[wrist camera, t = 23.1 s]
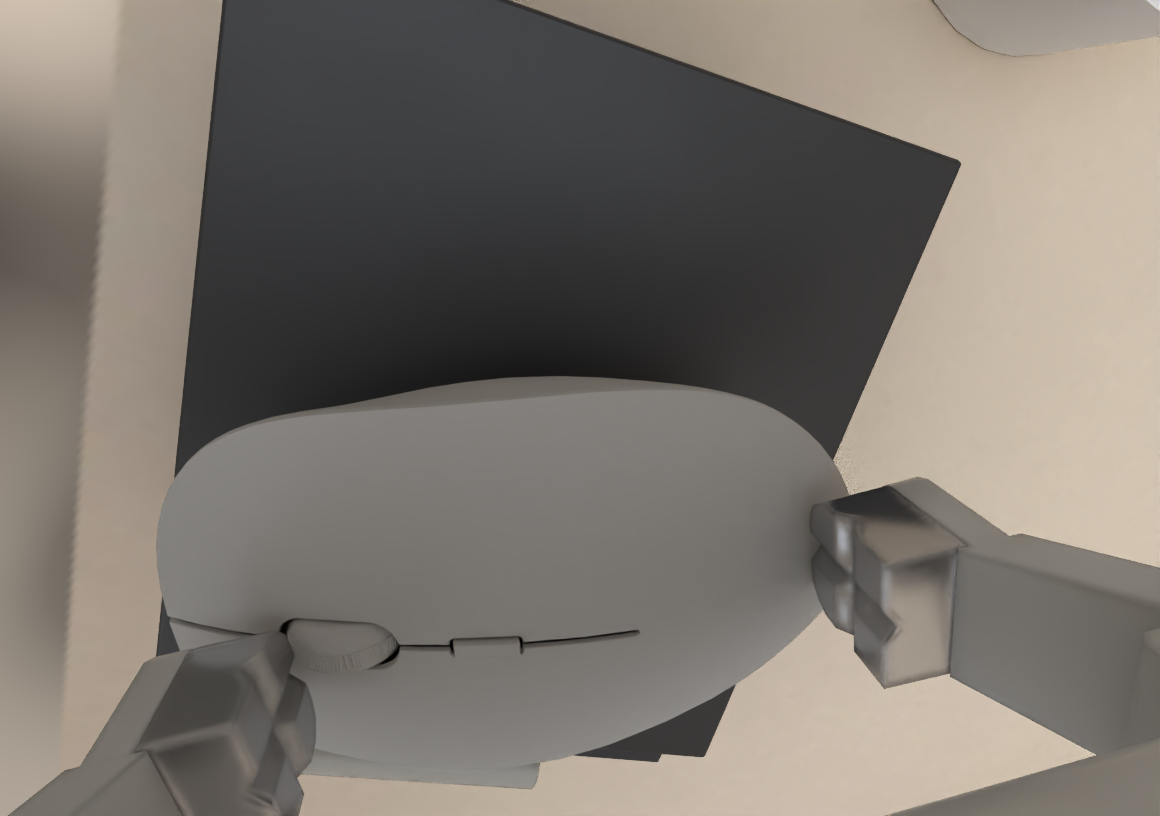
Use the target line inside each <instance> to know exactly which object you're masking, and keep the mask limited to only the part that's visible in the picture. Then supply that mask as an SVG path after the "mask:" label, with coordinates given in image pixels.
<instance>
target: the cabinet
mask: <svg viewBox="0 0 1160 816" xmlns="http://www.w3.org/2000/svg"><path fill="white" fill-rule="evenodd" d="M960 166H961V163H960V162H959V161H958V160H956V159H954V158H951V157H948V156H945V155H942V154H940V153H937V152H934V151H931V150H928V149H925V148H923V147H920V146H917V145H914V144H911V143H909V142H906V141H903V140H900V139H897V138H895V137H892V136H889V135H886V134H883V133H881V132H878V131H875V130H872V129H869V128H866V127H864V126H861V125H858V124H855V123H852V122H850V121H847V120H844V119H841V118H838V117H836V116H833V115H830V114H827V113H824V112H822V111H819V110H816V109H813V108H810V107H808V106H805V105H802V104H799V103H796V102H793V101H791V100H788V99H785V98H782V97H779V96H777V95H774V94H771V93H768V92H765V91H763V90H760V89H757V88H754V87H751V86H749V85H746V84H743V83H740V82H737V81H735V80H732V79H729V78H726V77H723V76H720V75H718V74H715V73H712V72H709V71H706V70H704V69H701V68H698V67H695V66H692V65H690V64H687V63H684V62H681V61H678V60H676V59H673V58H670V57H667V56H664V55H662V54H659V53H656V52H653V51H650V50H647V49H645V48H642V47H639V46H636V45H633V44H631V43H628V42H625V41H622V40H619V39H617V38H614V37H611V36H608V35H605V34H603V33H600V32H597V31H594V30H591V29H589V28H586V27H583V26H580V25H577V24H574V23H572V22H569V21H566V20H563V19H560V18H558V17H555V16H552V15H549V14H546V13H544V12H541V11H538V10H535V9H532V8H530V7H527V6H524V5H521V4H518V3H516V2H513V1H510V0H223V3H222V13H221V23H220V32H219V42H218V52H217V62H216V72H215V82H214V92H213V101H212V111H211V121H210V131H209V141H208V151H207V160H206V170H205V180H204V190H203V200H202V210H201V220H200V229H199V239H198V249H197V259H196V269H195V279H194V289H193V298H192V308H191V318H190V328H189V338H188V348H187V357H186V367H185V377H184V387H183V397H182V407H181V417H180V426H179V436H178V446H177V456H176V466H175V476H174V479H175V477H176V476H177V475H178V473H179V472H180V471H181V469H182V468H183V467H184V465H185V464H186V463H187V462H188V460H189V459H190V458H191V457H192V456H193V455H195V454H196V453H197V452H198V451H199V450H200V449H201V448H202V447H204V446H205V445H207V444H208V443H210V442H211V441H213V440H214V439H216V438H217V437H219V436H221V435H223V434H225V433H227V432H229V431H231V430H233V429H236V428H239V427H241V426H244V425H247V424H250V423H253V422H257V421H260V420H264V419H267V418H270V417H275V416H280V415H285V414H290V413H295V412H300V411H307V410H314V409H321V408H327V407H334V406H341V405H346V404H351V403H357V402H361V401H366V400H371V399H376V398H381V397H386V396H391V395H396V394H401V393H406V392H410V391H415V390H420V389H425V388H430V387H437V386H443V385H450V384H456V383H463V382H471V381H481V380H490V379H499V378H514V377H545V376H570V377H599V378H614V379H627V380H641V381H652V382H662V383H671V384H680V385H688V386H695V387H702V388H707V389H712V390H717V391H722V392H727V393H731V394H735V395H739V396H742V397H746V398H749V399H752V400H755V401H757V402H760V403H763V404H765V405H767V406H769V407H771V408H773V409H775V410H777V411H779V412H780V413H782V414H784V415H785V416H787V417H788V418H790V419H792V420H793V421H794V422H796V423H797V424H798V425H800V426H801V427H802V428H803V429H805V430H806V431H807V432H808V433H809V434H810V435H811V436H812V437H813V438H814V439H815V440H816V441H817V442H818V443H819V444H820V445H821V446H822V447H823V448H824V450H825V451H826V452H827V454H828V455H829V456H830V458H831V459H832V461H833V459H834V457H835V454H836V452H837V450H838V448H839V445H840V443H841V441H842V438H843V436H844V434H845V431H846V429H847V427H848V424H849V422H850V420H851V418H852V415H853V413H854V411H855V408H856V406H857V404H858V401H859V399H860V397H861V394H862V392H863V390H864V388H865V385H866V383H867V381H868V378H869V376H870V374H871V371H872V369H873V367H874V364H875V362H876V360H877V358H878V355H879V353H880V351H881V348H882V346H883V344H884V341H885V339H886V337H887V334H888V332H889V330H890V328H891V325H892V323H893V321H894V318H895V316H896V314H897V311H898V309H899V307H900V304H901V302H902V300H903V298H904V295H905V293H906V291H907V288H908V286H909V284H910V281H911V279H912V277H913V274H914V272H915V270H916V268H917V265H918V263H919V261H920V258H921V256H922V254H923V251H924V249H925V247H926V244H927V242H928V240H929V238H930V235H931V233H932V231H933V228H934V226H935V224H936V221H937V219H938V217H939V214H940V212H941V210H942V208H943V205H944V203H945V201H946V198H947V196H948V194H949V191H950V189H951V187H952V184H953V182H954V180H955V178H956V175H957V173H958V171H959V168H960ZM170 618H171V617H169V616H167V612H166V608H165V604H164V600H163V596H162V604H161V613H160V623H159V633H158V643H157V653H156V657H157V656H161V655H166V654H170V653H174V652H178V651H180V649H179V647H178V644H177V641H176V639H175V636H174V633H173V631H172V628H171V625H170ZM735 685H736V684H735ZM735 685H733V686H732V687H730V688H728V689H727V690H725V691H723V692H722V693H720V694H718V695H717V696H715V697H714V698H712V699H710V700H708V701H706V702H704V703H702V704H700V705H698V706H696V707H694V708H692V709H690V710H688V711H686V712H684V713H682V714H680V715H678V716H676V717H674V718H672V719H670V720H668V721H666V722H663V723H661V724H659V725H656V726H654V727H651V728H649V729H646V730H644V731H642V732H639V733H637V734H634V735H632V736H630V737H627V738H625V739H622V740H620V741H617V742H615V743H612V744H610V745H607V746H603V747H600V748H597V749H609V750H621V751H633V752H646V753H658V754H670V755H682V756H694V757H704V756H705V754H706V752H707V750H708V748H709V745H710V743H711V741H712V738H713V736H714V734H715V731H716V729H717V727H718V724H719V722H720V720H721V718H722V715H723V713H724V711H725V708H726V706H727V704H728V701H729V699H730V697H731V694H732V692H733V690H734V688H735Z"/></svg>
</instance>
